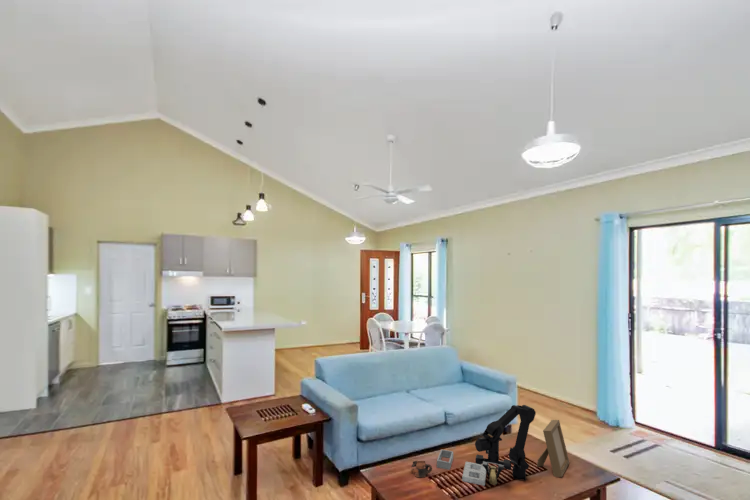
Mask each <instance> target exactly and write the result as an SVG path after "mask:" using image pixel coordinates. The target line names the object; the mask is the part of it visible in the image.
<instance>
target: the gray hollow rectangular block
mask: <svg viewBox="0 0 750 500" xmlns="http://www.w3.org/2000/svg"><path fill="white" fill-rule="evenodd" d="M442 458H448V459H449V460H448V461H446V460H442ZM453 460H454V451H452V450H448V449H447V450H446V449H440V451H439V454H438V456H437V460H436V468H437V469H444V470H448V471H449V470H451V466H452V464H453Z"/></svg>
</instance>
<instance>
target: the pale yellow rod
mask: <svg viewBox="0 0 750 500" xmlns="http://www.w3.org/2000/svg"><path fill="white" fill-rule="evenodd" d="M497 471H498V466H497V467H496V465H490V466H489V477H488V482H489V484H490V485H494V486H495V485H497V483H498V481H497V480H498V479H497Z"/></svg>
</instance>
